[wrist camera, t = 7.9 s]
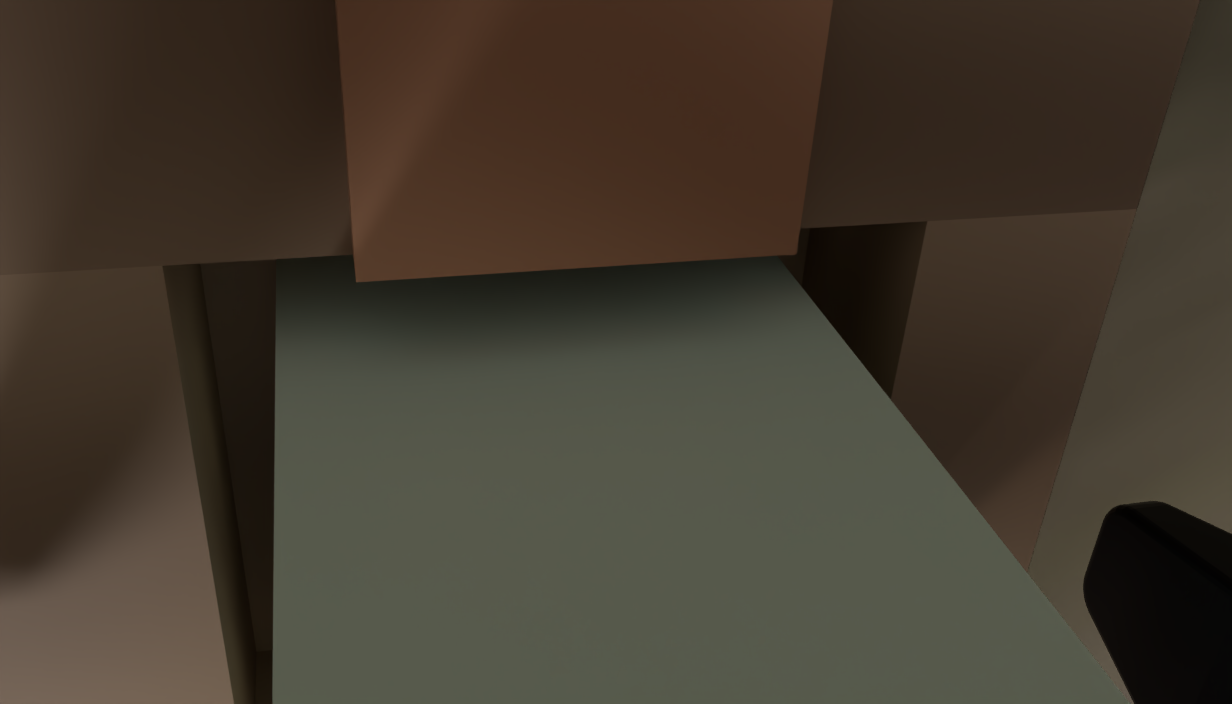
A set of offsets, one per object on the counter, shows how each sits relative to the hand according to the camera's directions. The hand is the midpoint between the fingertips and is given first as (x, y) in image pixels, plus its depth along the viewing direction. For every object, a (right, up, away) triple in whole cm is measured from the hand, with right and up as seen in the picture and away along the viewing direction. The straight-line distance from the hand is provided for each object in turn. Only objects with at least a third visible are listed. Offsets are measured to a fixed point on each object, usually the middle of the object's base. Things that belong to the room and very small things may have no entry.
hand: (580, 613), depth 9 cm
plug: (-1, +1, +2) cm, 3 cm away
